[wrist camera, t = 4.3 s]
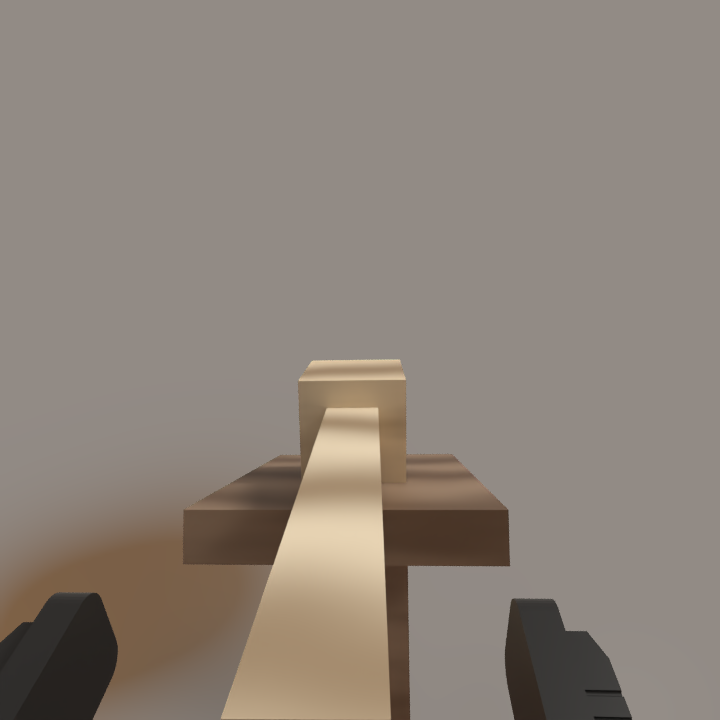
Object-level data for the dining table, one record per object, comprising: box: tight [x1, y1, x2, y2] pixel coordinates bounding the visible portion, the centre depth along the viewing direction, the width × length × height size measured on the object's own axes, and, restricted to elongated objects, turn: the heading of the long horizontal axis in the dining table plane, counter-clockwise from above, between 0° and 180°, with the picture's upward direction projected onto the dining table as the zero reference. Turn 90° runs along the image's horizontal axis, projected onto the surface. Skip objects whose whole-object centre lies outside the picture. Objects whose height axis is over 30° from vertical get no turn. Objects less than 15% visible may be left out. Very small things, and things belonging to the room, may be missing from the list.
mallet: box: [221, 359, 406, 720], centre depth 20 cm, size 24×5×5 cm, turn 179°
